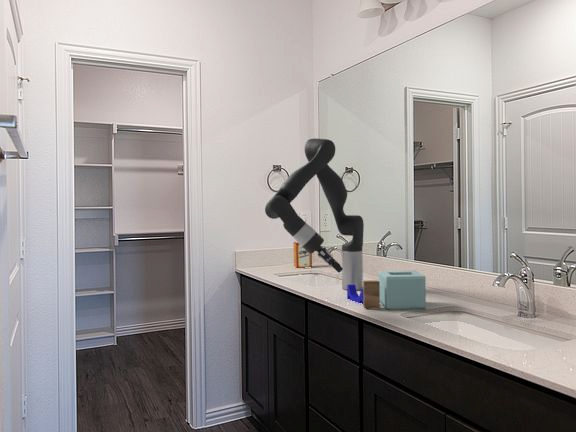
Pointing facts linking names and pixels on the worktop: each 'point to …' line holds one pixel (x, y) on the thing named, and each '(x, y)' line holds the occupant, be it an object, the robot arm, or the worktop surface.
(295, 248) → the baking soda box
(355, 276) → the robot arm
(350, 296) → the cable clip
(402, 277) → the box
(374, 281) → the brown wooden block
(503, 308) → the worktop surface
